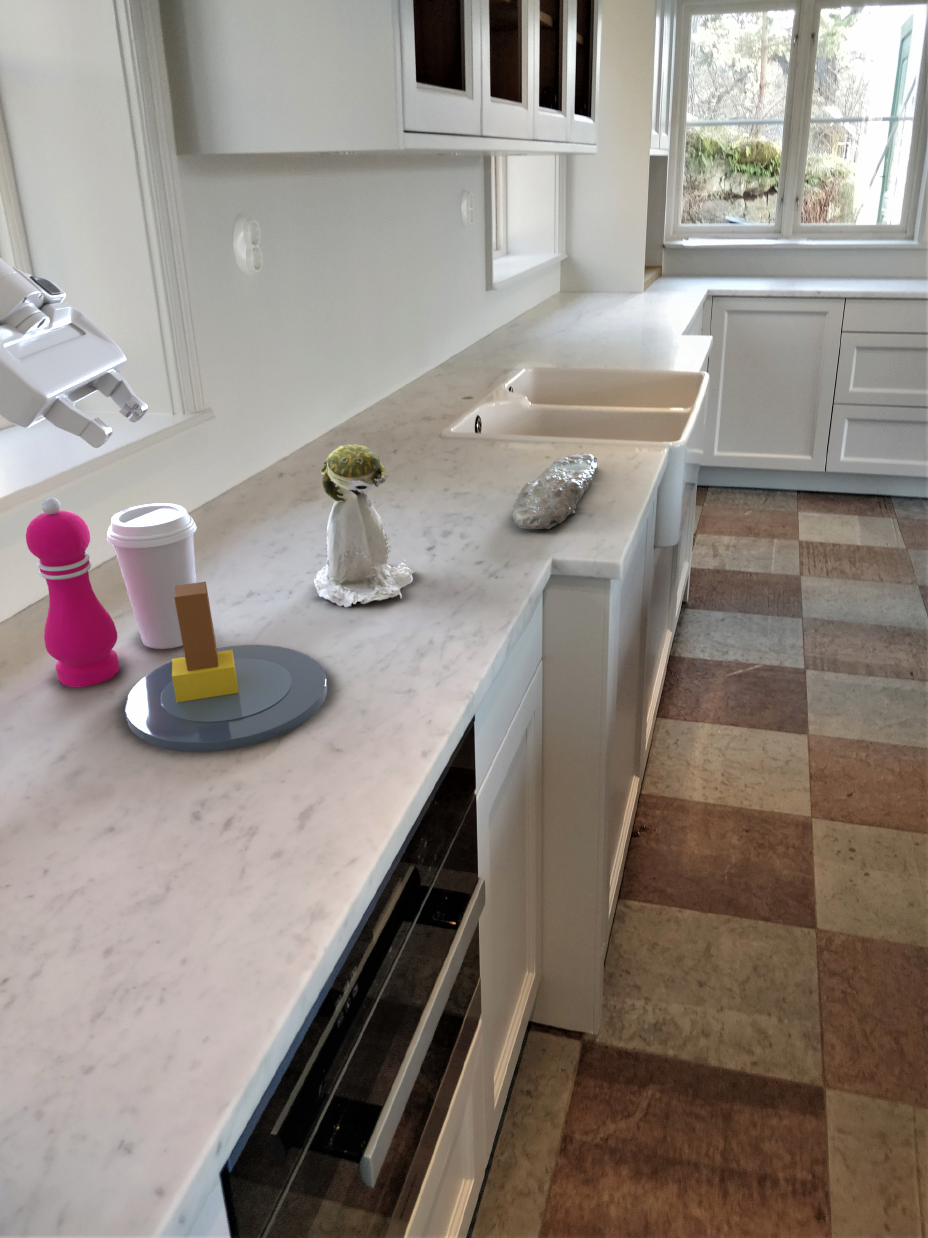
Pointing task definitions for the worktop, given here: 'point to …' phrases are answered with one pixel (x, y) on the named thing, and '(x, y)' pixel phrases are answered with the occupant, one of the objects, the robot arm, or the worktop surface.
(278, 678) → the plate
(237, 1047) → the worktop surface
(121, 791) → the worktop surface
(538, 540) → the worktop surface
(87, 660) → the pepper mill
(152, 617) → the coffee cup
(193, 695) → the sponge brush
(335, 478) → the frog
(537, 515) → the elongated rock
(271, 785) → the worktop surface
